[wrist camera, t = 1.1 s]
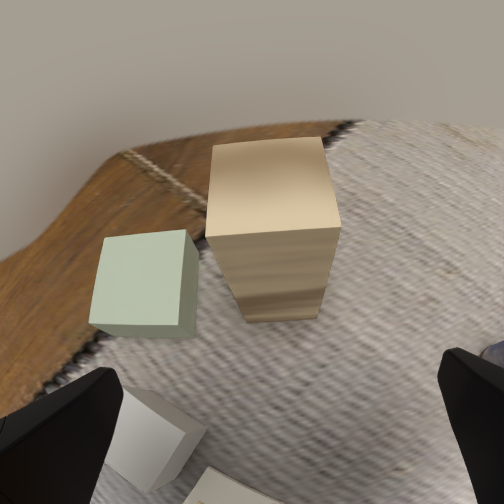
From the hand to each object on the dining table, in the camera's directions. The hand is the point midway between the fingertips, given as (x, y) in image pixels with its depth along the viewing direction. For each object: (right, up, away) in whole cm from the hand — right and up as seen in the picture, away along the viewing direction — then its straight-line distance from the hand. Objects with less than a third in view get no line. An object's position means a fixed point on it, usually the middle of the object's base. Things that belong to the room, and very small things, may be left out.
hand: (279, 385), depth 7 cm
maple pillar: (+1, +1, +16) cm, 16 cm away
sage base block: (-8, 0, +17) cm, 19 cm away
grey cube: (-7, -10, +11) cm, 17 cm away
